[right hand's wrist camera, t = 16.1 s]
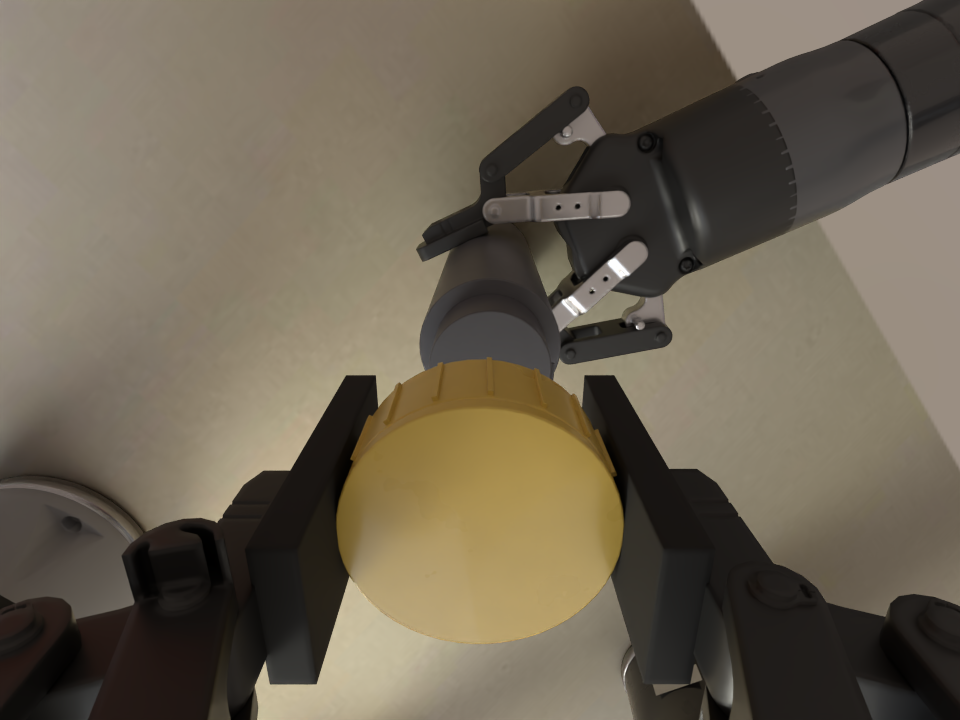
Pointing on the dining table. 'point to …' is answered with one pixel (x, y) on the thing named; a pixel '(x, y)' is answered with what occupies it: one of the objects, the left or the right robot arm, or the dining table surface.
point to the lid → (480, 504)
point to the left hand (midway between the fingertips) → (446, 301)
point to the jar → (491, 306)
